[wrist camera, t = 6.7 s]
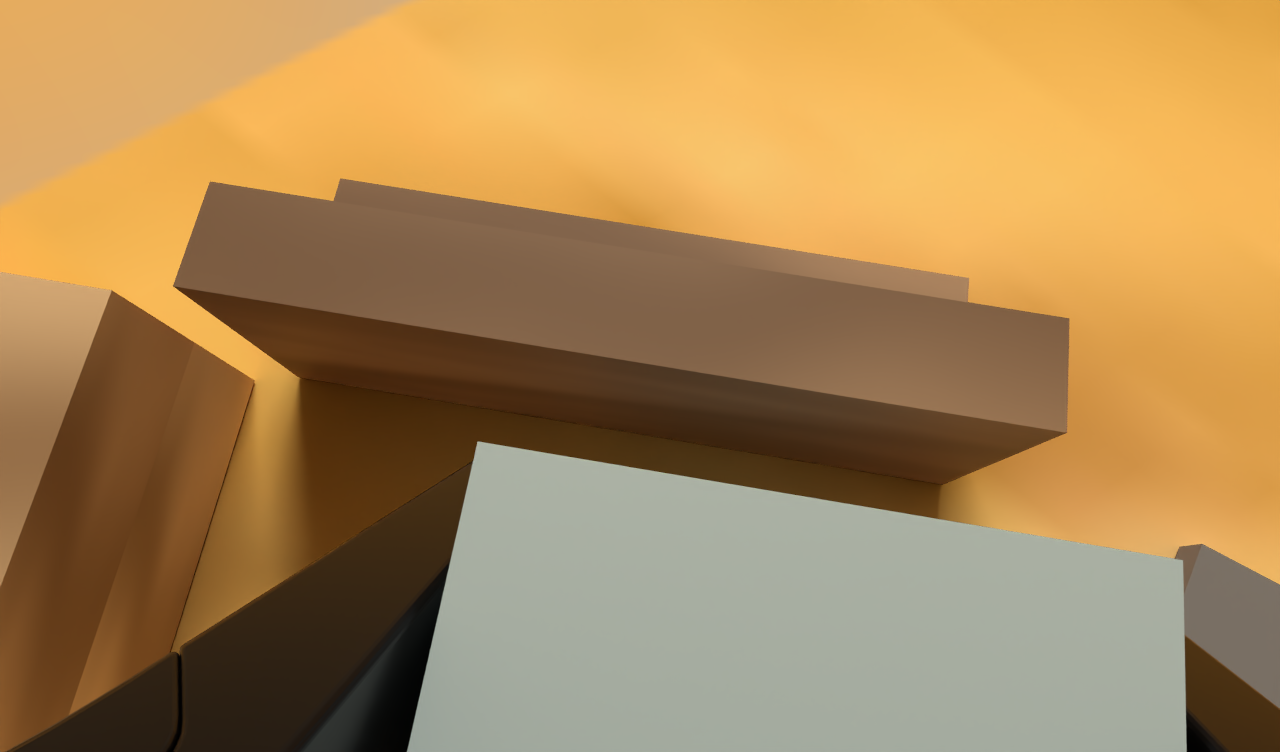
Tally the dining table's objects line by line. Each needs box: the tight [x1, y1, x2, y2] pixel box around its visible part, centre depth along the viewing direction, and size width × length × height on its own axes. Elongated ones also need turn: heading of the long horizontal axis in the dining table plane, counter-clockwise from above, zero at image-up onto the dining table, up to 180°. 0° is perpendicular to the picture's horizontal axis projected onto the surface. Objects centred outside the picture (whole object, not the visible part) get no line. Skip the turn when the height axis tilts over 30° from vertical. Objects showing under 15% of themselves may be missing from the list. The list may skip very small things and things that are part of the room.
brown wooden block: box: [173, 179, 1069, 485], centre depth 14 cm, size 4×12×4 cm, turn 80°
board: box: [407, 442, 1187, 752], centre depth 10 cm, size 3×5×9 cm, turn 80°
